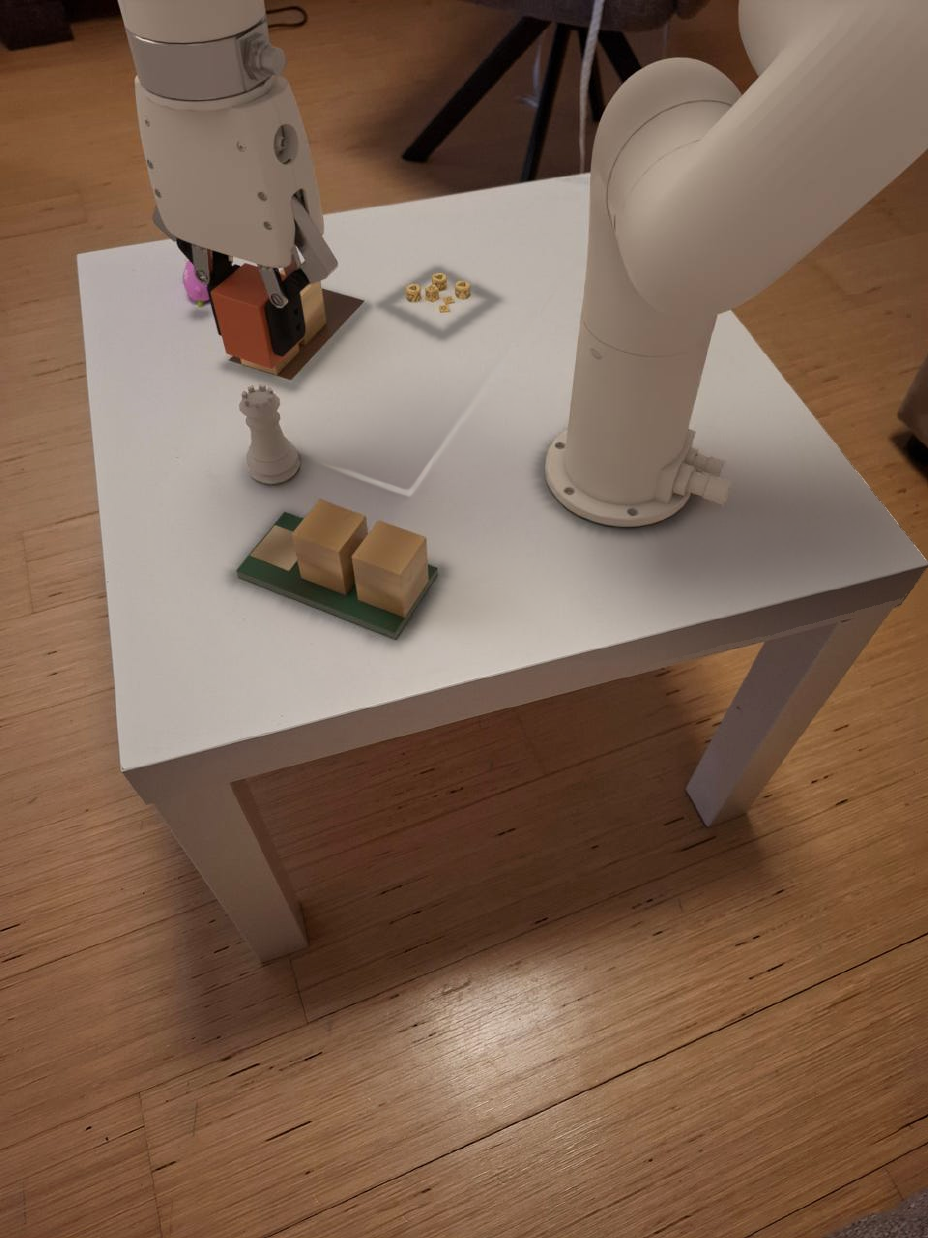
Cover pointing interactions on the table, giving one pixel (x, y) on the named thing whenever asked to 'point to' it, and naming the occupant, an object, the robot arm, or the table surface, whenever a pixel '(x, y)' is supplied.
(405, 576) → the green board with cubes
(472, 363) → the table surface
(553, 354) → the table surface
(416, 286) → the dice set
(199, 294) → the dragon fruit figure
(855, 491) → the table surface
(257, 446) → the rook chess piece
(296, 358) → the far board with cubes
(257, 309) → the orange upright block
